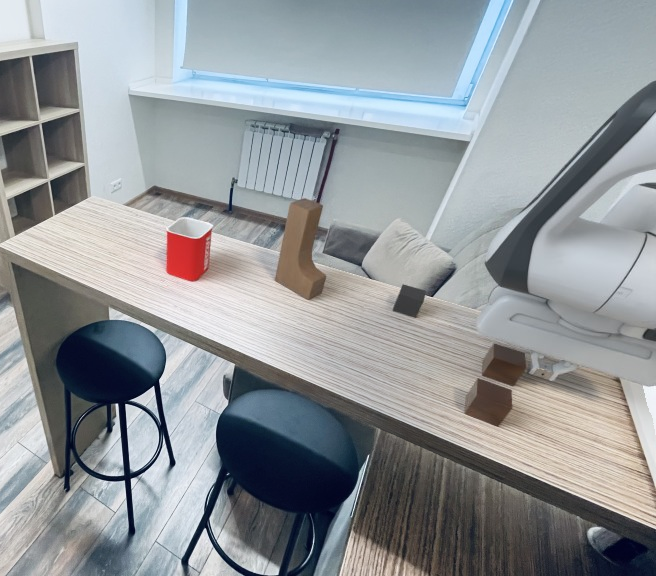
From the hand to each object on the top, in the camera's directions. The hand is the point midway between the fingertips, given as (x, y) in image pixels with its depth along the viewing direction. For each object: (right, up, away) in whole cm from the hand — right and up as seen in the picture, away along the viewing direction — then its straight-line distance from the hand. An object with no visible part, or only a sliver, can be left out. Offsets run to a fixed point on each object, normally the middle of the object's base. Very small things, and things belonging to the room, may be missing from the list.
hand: (539, 374), depth 62 cm
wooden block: (-28, +13, +24) cm, 39 cm away
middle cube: (-4, 0, +3) cm, 5 cm away
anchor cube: (-9, +9, +17) cm, 22 cm away
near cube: (-11, -5, -3) cm, 12 cm away
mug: (-49, +18, +31) cm, 61 cm away
